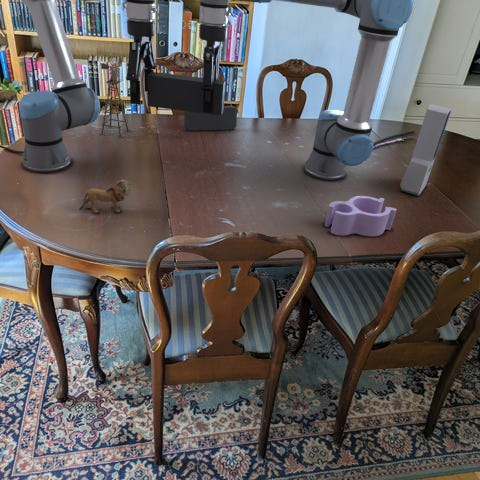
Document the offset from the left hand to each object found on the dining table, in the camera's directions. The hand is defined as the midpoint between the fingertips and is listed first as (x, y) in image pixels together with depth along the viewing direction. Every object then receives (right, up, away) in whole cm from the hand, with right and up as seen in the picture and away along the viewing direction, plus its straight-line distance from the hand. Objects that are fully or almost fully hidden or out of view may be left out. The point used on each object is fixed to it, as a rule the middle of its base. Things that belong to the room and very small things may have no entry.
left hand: (142, 97), depth 139 cm
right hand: (+20, -4, 0) cm, 20 cm away
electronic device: (+92, -24, +31) cm, 100 cm away
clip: (+65, -38, +4) cm, 75 cm away
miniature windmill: (-22, +1, +51) cm, 55 cm away
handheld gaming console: (+16, +5, +64) cm, 66 cm away
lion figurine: (-10, -33, -1) cm, 35 cm away
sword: (+98, +1, +70) cm, 120 cm away
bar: (+13, -3, 0) cm, 13 cm away
